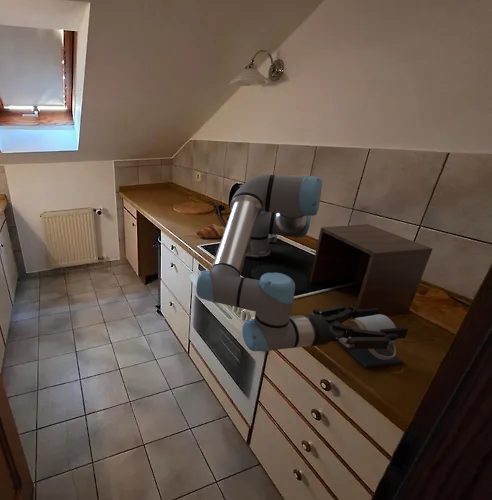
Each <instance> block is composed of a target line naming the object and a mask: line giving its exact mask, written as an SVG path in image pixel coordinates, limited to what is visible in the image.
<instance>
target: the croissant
mask: <svg viewBox="0 0 492 500" xmlns="http://www.w3.org/2000/svg"><path fill="white" fill-rule="evenodd" d="M225 228H226V227H225V226H224V225H219V226H218V225H217V224H208V225H207V226H206V227H203V228H202V229H200V230H198V231H195V233H196V235H197V236H199V237H202V238H205V239H220V238H222V237H223V234H224V231H225Z"/></svg>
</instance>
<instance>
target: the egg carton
mask: <svg viewBox="0 0 492 500" xmlns="http://www.w3.org/2000/svg"><path fill="white" fill-rule="evenodd" d="M278 237H279V235H273V234H269V235H268V241H269V243H277V240H278Z"/></svg>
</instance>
